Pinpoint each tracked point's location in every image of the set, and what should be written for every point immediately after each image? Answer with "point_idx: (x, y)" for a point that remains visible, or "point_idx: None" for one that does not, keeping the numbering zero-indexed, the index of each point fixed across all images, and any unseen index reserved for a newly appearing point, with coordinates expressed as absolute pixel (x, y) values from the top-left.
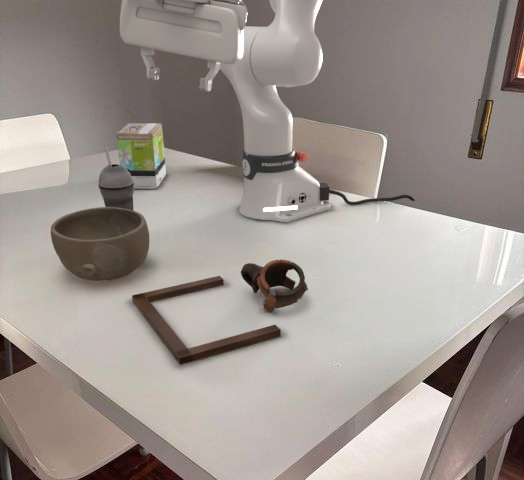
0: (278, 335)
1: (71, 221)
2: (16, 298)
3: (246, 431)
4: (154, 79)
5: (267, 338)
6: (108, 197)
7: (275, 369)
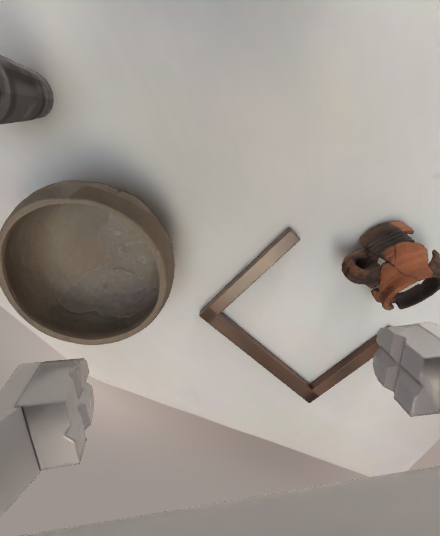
0: None
1: (7, 253)
2: (60, 341)
3: (383, 445)
4: (91, 403)
5: None
6: None
7: None
